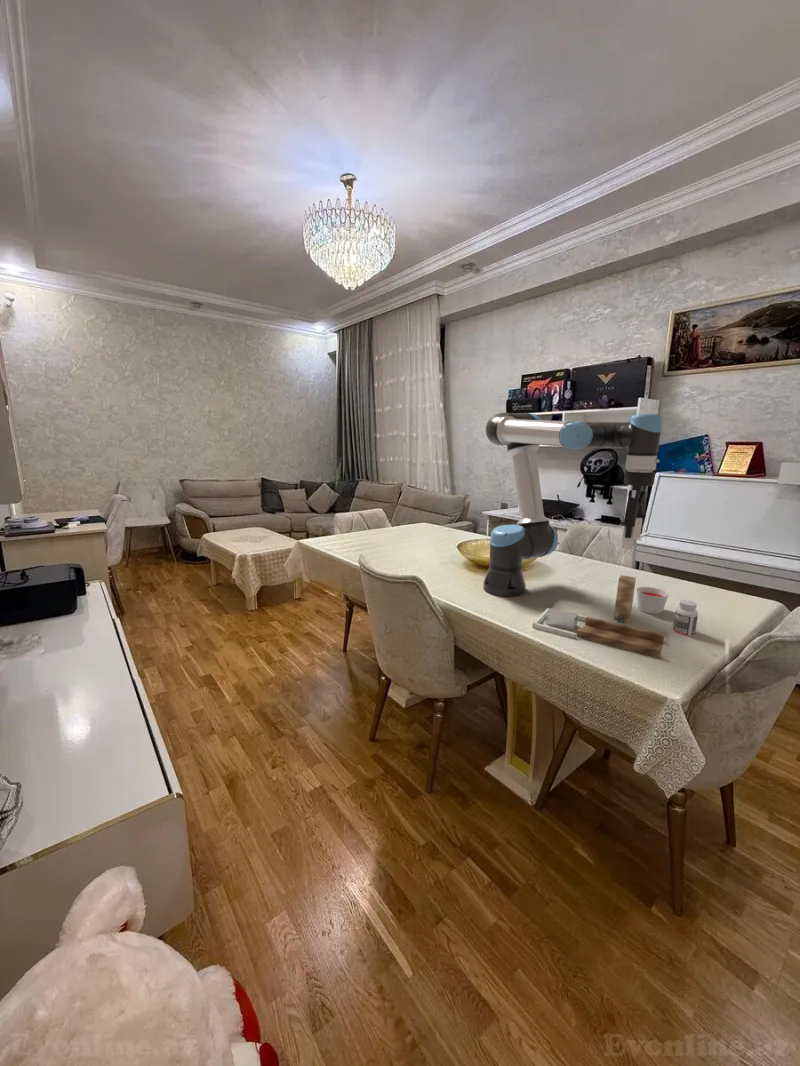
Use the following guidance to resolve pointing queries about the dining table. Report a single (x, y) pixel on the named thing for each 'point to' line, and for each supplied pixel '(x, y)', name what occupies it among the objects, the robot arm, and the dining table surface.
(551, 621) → the grey cube
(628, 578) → the tapered wooden board
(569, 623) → the pinkish grey cube
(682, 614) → the pill bottle
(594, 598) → the dining table surface
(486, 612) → the dining table surface
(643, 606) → the white round cup
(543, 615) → the tray
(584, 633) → the slot board
